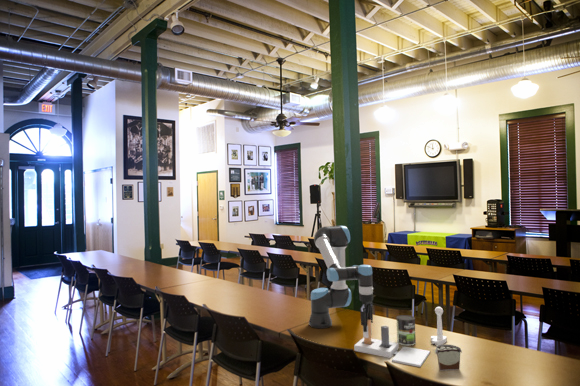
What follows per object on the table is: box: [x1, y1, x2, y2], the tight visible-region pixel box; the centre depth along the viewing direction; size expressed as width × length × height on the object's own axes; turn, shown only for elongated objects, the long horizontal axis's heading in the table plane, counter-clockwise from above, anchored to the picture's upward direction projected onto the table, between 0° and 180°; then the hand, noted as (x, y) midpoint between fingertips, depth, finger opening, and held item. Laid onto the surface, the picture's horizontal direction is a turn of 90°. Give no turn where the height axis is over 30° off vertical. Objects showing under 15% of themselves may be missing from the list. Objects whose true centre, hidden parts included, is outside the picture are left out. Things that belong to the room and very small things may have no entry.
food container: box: [434, 343, 463, 372], centre depth 186 cm, size 12×6×10 cm, turn 92°
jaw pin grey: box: [380, 325, 390, 348], centre depth 208 cm, size 4×4×13 cm
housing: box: [353, 337, 400, 359], centre depth 211 cm, size 20×14×3 cm
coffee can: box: [395, 314, 417, 347], centre depth 220 cm, size 10×10×14 cm
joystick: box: [430, 306, 448, 347], centre depth 219 cm, size 11×8×20 cm
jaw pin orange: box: [363, 319, 372, 345], centre depth 213 cm, size 4×4×13 cm
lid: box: [391, 345, 431, 368], centre depth 200 cm, size 16×20×1 cm
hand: (367, 335), depth 213 cm, fingers closed on jaw pin orange, 4 cm apart
